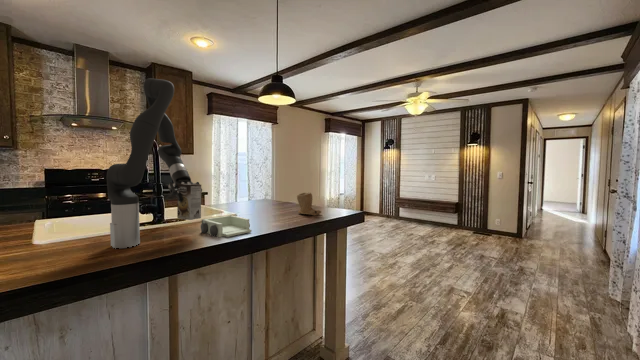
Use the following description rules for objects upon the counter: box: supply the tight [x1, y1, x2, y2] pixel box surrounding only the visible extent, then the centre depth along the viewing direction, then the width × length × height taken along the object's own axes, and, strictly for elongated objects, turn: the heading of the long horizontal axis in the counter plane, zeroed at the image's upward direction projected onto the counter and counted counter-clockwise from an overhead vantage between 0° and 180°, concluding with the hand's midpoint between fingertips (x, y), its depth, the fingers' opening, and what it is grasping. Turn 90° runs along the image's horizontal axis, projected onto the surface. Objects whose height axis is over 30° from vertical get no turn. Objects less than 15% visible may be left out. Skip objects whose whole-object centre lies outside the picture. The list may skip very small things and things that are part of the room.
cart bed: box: [200, 214, 252, 238], centre depth 137 cm, size 19×21×6 cm
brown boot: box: [296, 191, 322, 216], centre depth 187 cm, size 15×12×15 cm
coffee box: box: [176, 183, 202, 221], centre depth 130 cm, size 9×6×16 cm
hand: (190, 200), depth 129 cm, fingers closed on coffee box, 7 cm apart
